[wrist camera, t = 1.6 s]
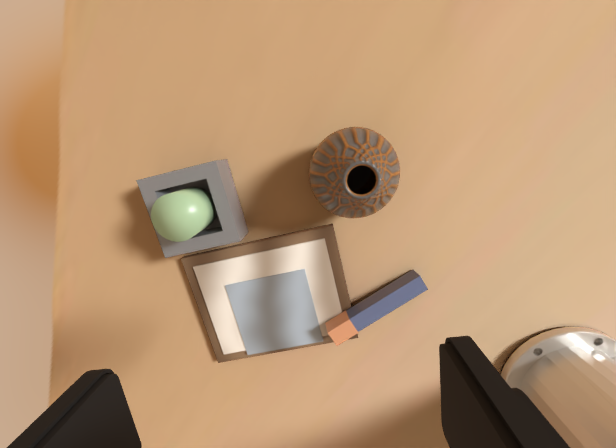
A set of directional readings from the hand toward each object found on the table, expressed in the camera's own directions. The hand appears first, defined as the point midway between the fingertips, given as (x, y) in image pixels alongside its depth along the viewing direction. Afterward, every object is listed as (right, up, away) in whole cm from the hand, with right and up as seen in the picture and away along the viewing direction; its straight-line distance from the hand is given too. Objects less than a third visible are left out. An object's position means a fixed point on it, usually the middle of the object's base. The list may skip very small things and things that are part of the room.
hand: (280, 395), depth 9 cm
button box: (-9, +7, +20) cm, 23 cm away
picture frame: (-3, -2, +22) cm, 22 cm away
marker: (+7, -3, +21) cm, 22 cm away
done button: (-9, +6, +18) cm, 21 cm away
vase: (+4, +10, +19) cm, 21 cm away
